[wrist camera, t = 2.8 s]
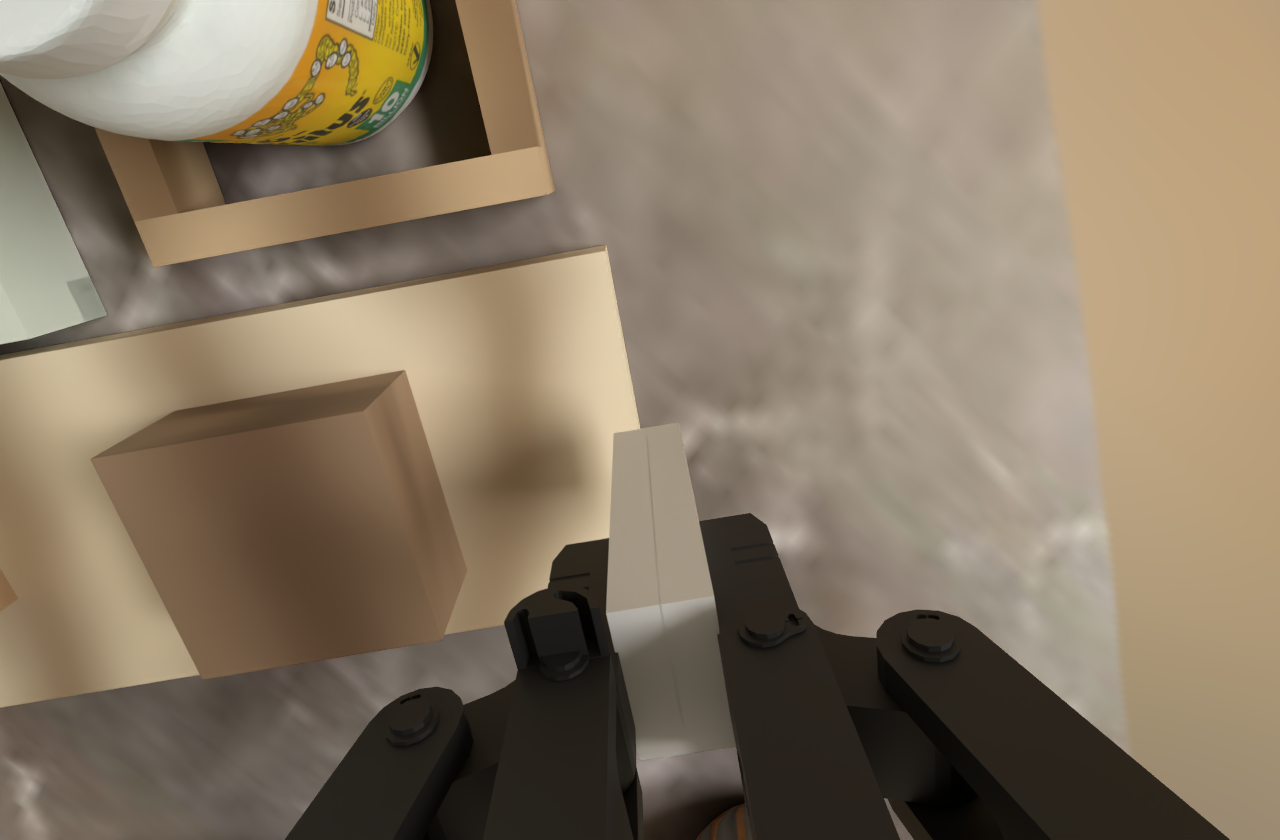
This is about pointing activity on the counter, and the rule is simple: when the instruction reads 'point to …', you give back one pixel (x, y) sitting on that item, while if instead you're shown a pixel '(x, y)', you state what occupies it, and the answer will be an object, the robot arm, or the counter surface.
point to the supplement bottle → (221, 65)
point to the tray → (35, 248)
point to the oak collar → (205, 226)
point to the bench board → (293, 359)
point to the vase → (729, 826)
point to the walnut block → (291, 524)
